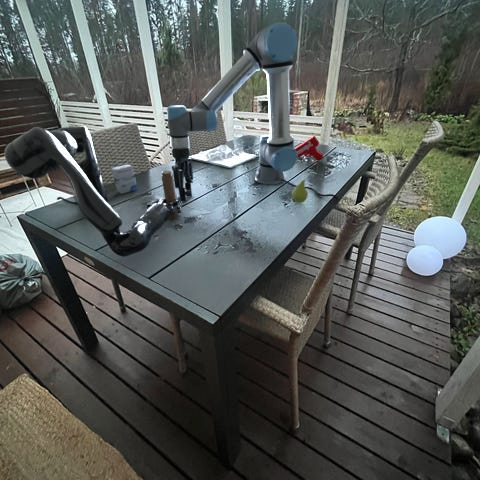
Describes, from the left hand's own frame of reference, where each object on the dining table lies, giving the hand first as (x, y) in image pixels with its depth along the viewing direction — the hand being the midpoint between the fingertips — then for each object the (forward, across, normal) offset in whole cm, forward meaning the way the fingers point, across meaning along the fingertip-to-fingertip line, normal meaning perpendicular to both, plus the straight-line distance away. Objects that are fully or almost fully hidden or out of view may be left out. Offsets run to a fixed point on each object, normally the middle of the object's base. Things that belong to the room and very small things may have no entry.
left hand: (173, 198), depth 110 cm
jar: (-3, 0, +7) cm, 7 cm away
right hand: (+15, +1, +6) cm, 16 cm away
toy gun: (+85, -53, +7) cm, 101 cm away
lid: (+15, +1, +3) cm, 15 cm away
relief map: (+81, +1, +7) cm, 81 cm away
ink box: (+18, +33, +7) cm, 39 cm away
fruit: (+21, -50, +7) cm, 55 cm away
